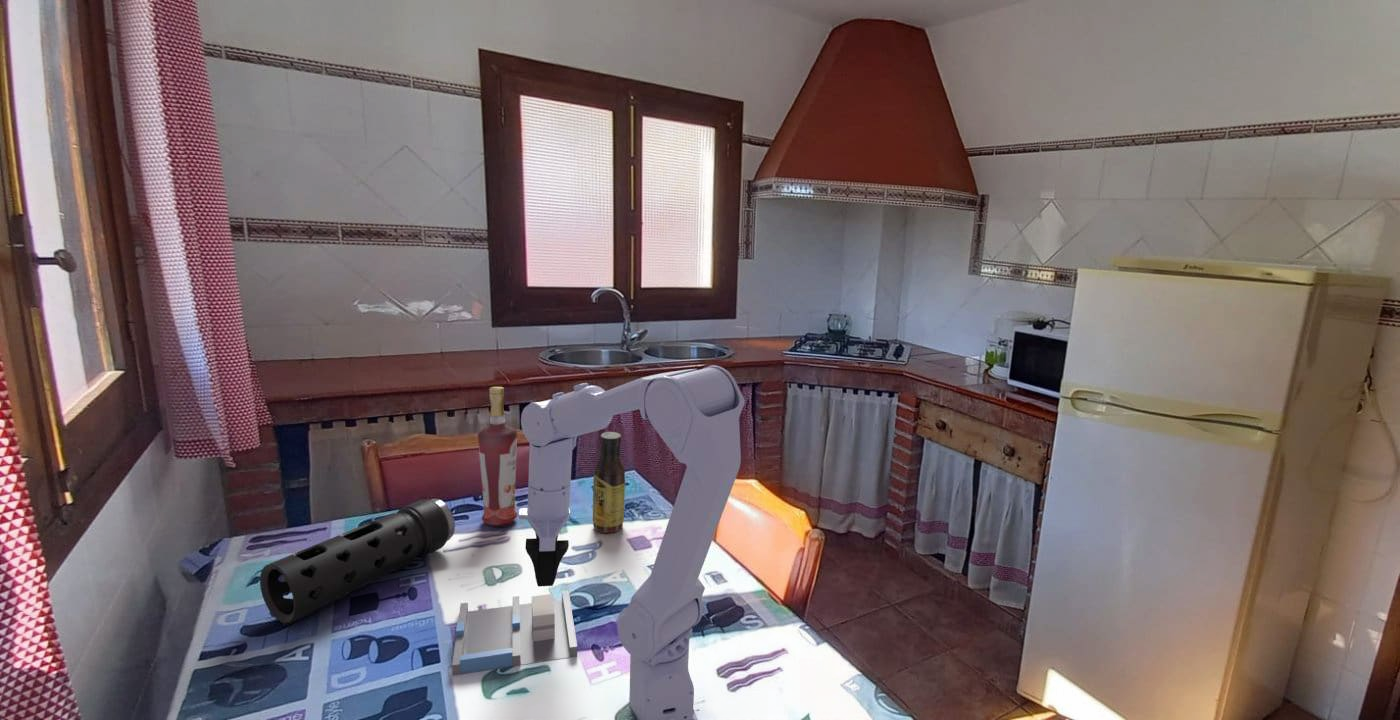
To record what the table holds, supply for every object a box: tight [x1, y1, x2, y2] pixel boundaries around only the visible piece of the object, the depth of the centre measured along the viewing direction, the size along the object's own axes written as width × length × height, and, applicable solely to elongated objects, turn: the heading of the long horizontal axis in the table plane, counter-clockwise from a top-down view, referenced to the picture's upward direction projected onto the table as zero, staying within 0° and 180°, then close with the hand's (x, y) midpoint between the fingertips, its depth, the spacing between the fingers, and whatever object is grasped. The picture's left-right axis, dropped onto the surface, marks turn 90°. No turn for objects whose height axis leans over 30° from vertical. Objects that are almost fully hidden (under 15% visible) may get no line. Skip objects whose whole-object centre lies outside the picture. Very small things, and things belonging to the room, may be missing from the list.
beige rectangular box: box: [531, 593, 555, 642], centre depth 89 cm, size 5×3×4 cm, turn 17°
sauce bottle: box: [592, 431, 626, 534], centre depth 121 cm, size 7×6×20 cm
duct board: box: [451, 589, 578, 677], centre depth 88 cm, size 14×16×3 cm
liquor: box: [477, 386, 518, 528], centre depth 121 cm, size 7×7×28 cm
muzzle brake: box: [259, 498, 456, 627], centre depth 100 cm, size 10×28×10 cm, turn 152°
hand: (545, 568), depth 88 cm, fingers open, 7 cm apart
